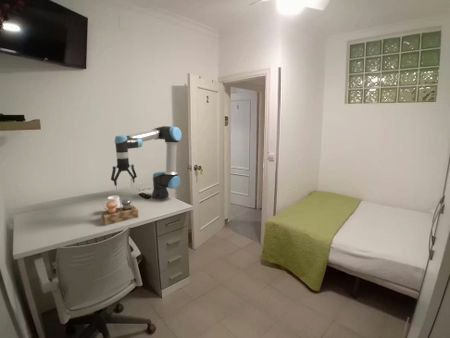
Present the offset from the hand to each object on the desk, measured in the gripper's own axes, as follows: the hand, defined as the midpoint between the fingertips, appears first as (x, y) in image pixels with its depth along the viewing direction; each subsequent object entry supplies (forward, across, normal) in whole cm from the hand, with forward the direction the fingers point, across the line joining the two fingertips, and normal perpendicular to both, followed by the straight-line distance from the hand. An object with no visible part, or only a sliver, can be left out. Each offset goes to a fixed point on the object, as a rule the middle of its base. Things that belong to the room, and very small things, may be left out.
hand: (125, 188), depth 166 cm
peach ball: (+17, +10, 0) cm, 20 cm away
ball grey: (+17, 0, 0) cm, 17 cm away
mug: (+22, +7, -14) cm, 27 cm away
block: (+22, +5, 0) cm, 22 cm away
